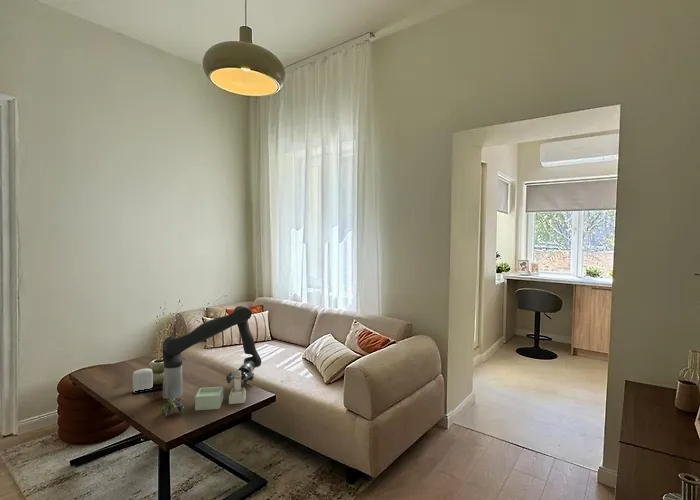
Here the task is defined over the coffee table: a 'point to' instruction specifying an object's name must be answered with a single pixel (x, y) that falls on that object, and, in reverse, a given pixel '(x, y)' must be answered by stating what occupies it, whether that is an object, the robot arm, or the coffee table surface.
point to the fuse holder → (237, 396)
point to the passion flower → (173, 403)
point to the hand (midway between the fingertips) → (236, 381)
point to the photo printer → (142, 379)
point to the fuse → (237, 381)
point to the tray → (209, 398)
